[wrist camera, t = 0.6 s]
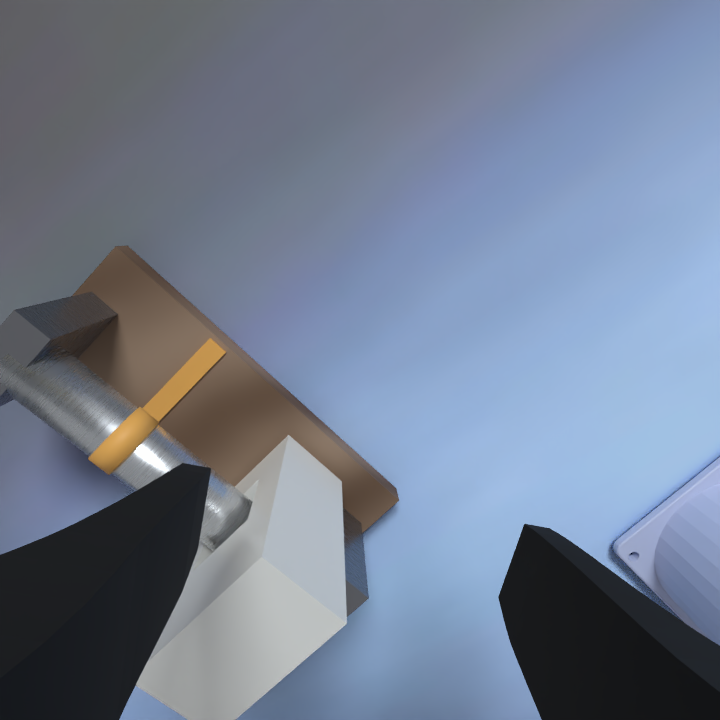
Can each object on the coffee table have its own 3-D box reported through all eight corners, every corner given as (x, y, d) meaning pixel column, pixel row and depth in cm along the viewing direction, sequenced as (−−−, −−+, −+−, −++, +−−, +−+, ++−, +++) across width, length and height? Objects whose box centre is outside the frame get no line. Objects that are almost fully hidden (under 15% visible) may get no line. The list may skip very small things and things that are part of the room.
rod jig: (396, 488, 21) (417, 574, 16) (289, 584, 22) (275, 695, 17) (127, 245, 18) (40, 250, 13) (16, 371, 19) (-110, 425, 14)
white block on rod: (341, 481, 20) (347, 623, 12) (256, 560, 20) (214, 736, 13) (288, 434, 19) (261, 556, 12) (202, 518, 20) (127, 680, 12)
